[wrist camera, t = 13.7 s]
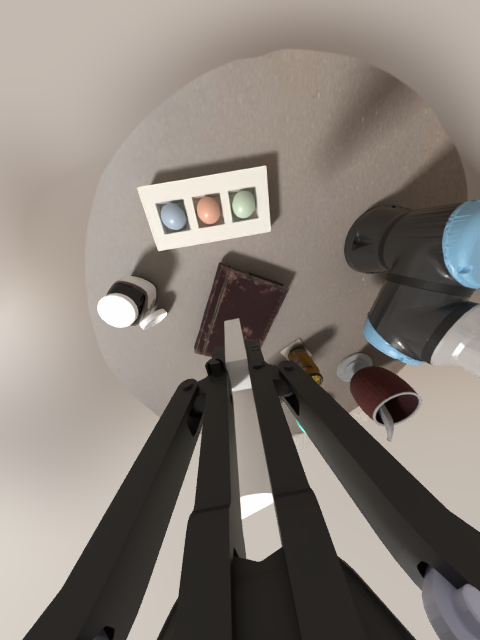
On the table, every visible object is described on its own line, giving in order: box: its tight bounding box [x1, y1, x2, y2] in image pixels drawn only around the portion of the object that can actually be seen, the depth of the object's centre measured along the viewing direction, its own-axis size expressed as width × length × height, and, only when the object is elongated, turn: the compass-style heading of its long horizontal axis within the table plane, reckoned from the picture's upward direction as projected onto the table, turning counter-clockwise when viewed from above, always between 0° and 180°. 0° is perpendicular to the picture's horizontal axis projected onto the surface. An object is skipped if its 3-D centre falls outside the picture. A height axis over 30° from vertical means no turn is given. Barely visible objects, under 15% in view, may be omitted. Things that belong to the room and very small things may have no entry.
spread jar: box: [97, 276, 167, 330], centre depth 40 cm, size 12×11×12 cm
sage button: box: [232, 191, 255, 219], centre depth 36 cm, size 4×4×3 cm
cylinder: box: [232, 389, 274, 519], centre depth 52 cm, size 17×17×28 cm
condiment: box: [280, 339, 323, 385], centre depth 52 cm, size 7×8×12 cm
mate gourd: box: [337, 353, 422, 441], centre depth 53 cm, size 16×14×20 cm
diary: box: [194, 263, 289, 357], centre depth 48 cm, size 19×25×5 cm
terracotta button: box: [197, 197, 220, 225], centre depth 36 cm, size 4×4×3 cm
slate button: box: [161, 203, 188, 230], centre depth 35 cm, size 4×4×3 cm
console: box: [137, 166, 271, 251], centre depth 37 cm, size 24×11×4 cm, turn 99°
